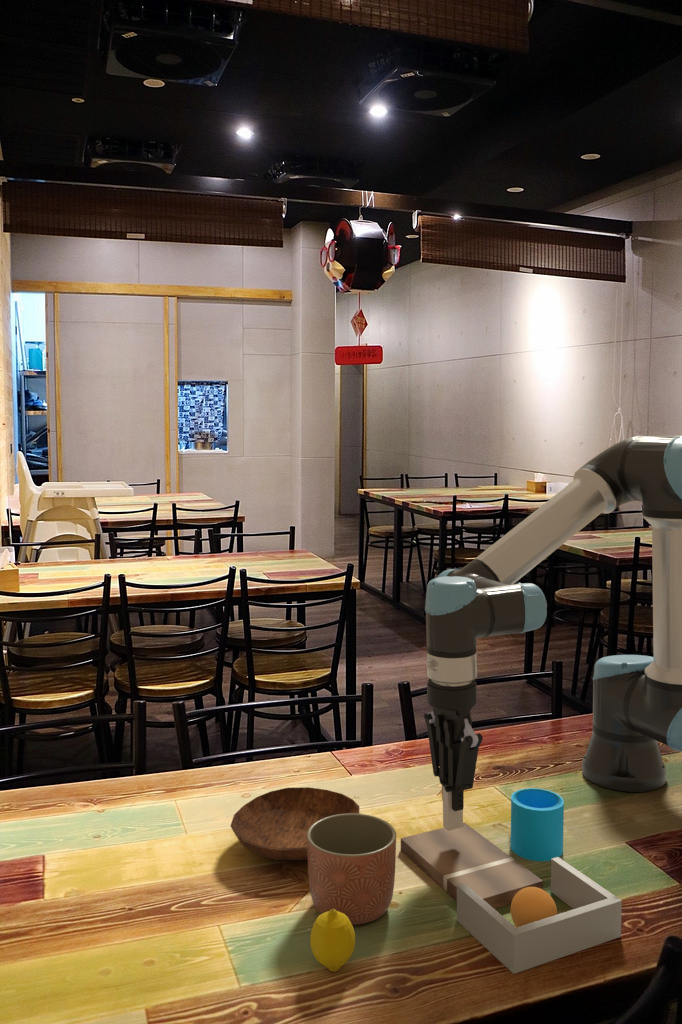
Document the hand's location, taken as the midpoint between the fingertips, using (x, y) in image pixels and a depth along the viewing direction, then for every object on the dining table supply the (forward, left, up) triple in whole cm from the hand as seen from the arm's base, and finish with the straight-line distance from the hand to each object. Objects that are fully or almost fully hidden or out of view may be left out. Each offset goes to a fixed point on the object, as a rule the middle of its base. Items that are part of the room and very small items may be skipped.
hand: (453, 826), depth 132 cm
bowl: (+20, -14, -5) cm, 25 cm away
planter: (+20, +6, -5) cm, 22 cm away
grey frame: (0, +21, -5) cm, 21 cm away
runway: (0, +5, -5) cm, 7 cm away
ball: (+2, +22, -2) cm, 22 cm away
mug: (-14, +2, -5) cm, 15 cm away
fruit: (+28, +17, -5) cm, 33 cm away
